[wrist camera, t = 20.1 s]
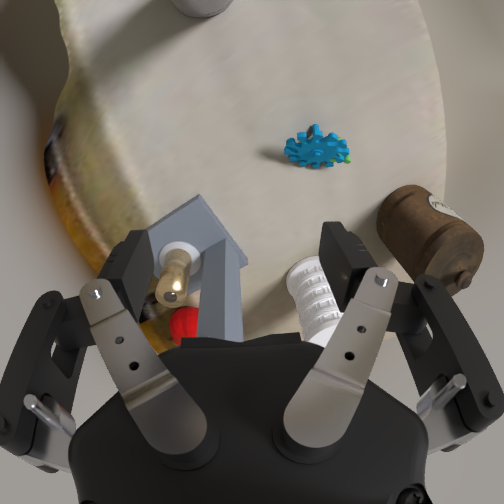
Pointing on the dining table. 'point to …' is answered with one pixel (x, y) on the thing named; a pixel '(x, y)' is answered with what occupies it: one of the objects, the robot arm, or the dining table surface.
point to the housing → (174, 278)
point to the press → (205, 265)
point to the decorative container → (313, 300)
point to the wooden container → (429, 238)
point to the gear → (317, 149)
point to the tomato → (183, 323)
